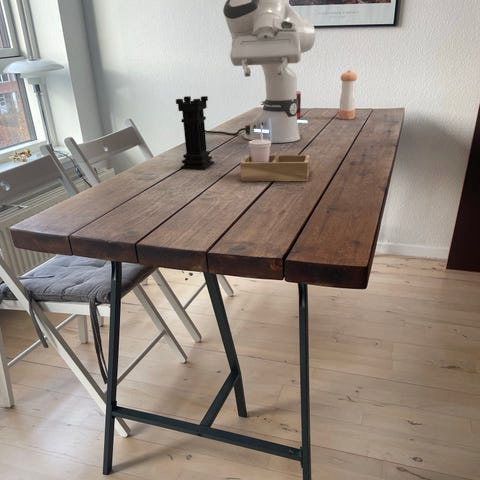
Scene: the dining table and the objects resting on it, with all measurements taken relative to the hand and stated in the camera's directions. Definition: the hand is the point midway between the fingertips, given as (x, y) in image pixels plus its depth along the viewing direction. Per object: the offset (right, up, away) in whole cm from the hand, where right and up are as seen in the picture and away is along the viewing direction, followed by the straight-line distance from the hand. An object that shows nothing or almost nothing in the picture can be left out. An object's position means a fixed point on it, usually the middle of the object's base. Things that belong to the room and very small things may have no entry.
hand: (263, 74), depth 141 cm
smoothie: (-1, -28, +3) cm, 29 cm away
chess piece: (-20, -21, +17) cm, 34 cm away
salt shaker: (+41, +21, +82) cm, 94 cm away
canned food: (+17, +24, +90) cm, 94 cm away
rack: (+4, -29, +2) cm, 29 cm away
